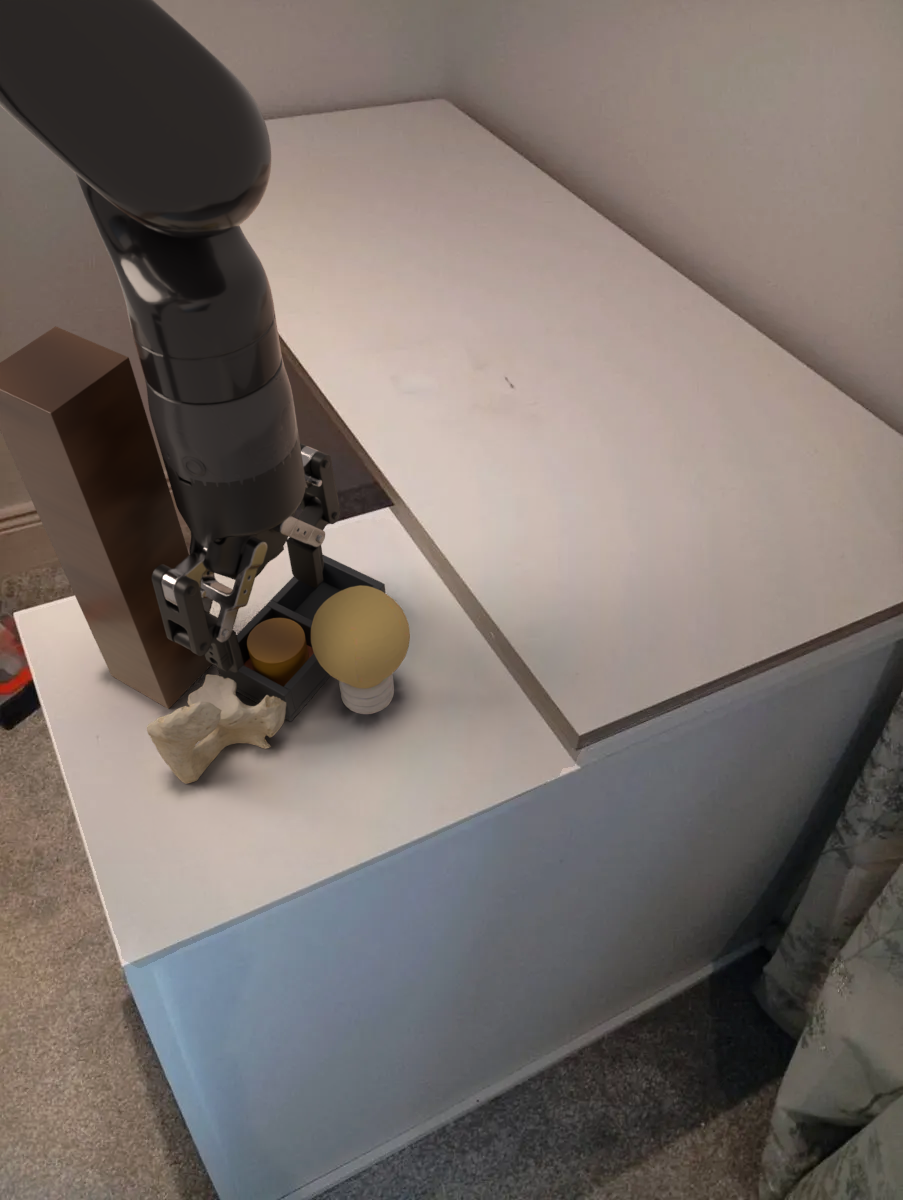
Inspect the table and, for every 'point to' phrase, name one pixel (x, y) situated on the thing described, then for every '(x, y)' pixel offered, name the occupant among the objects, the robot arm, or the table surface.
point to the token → (277, 649)
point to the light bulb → (361, 645)
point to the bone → (213, 726)
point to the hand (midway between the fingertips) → (269, 621)
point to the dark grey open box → (301, 608)
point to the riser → (100, 499)
